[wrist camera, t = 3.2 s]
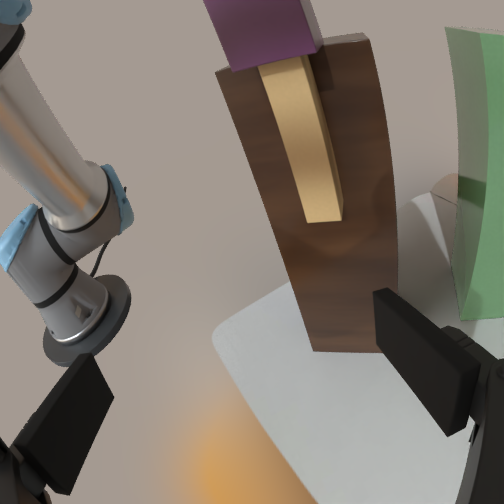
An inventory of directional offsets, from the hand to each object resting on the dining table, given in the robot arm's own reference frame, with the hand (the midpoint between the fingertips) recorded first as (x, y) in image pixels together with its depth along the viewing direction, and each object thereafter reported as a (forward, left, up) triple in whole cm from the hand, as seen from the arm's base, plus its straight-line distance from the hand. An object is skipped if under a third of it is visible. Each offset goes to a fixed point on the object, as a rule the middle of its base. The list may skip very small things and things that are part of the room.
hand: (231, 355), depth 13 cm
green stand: (-7, +30, -23) cm, 38 cm away
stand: (-14, +12, -23) cm, 29 cm away
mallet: (-11, +10, +6) cm, 16 cm away
